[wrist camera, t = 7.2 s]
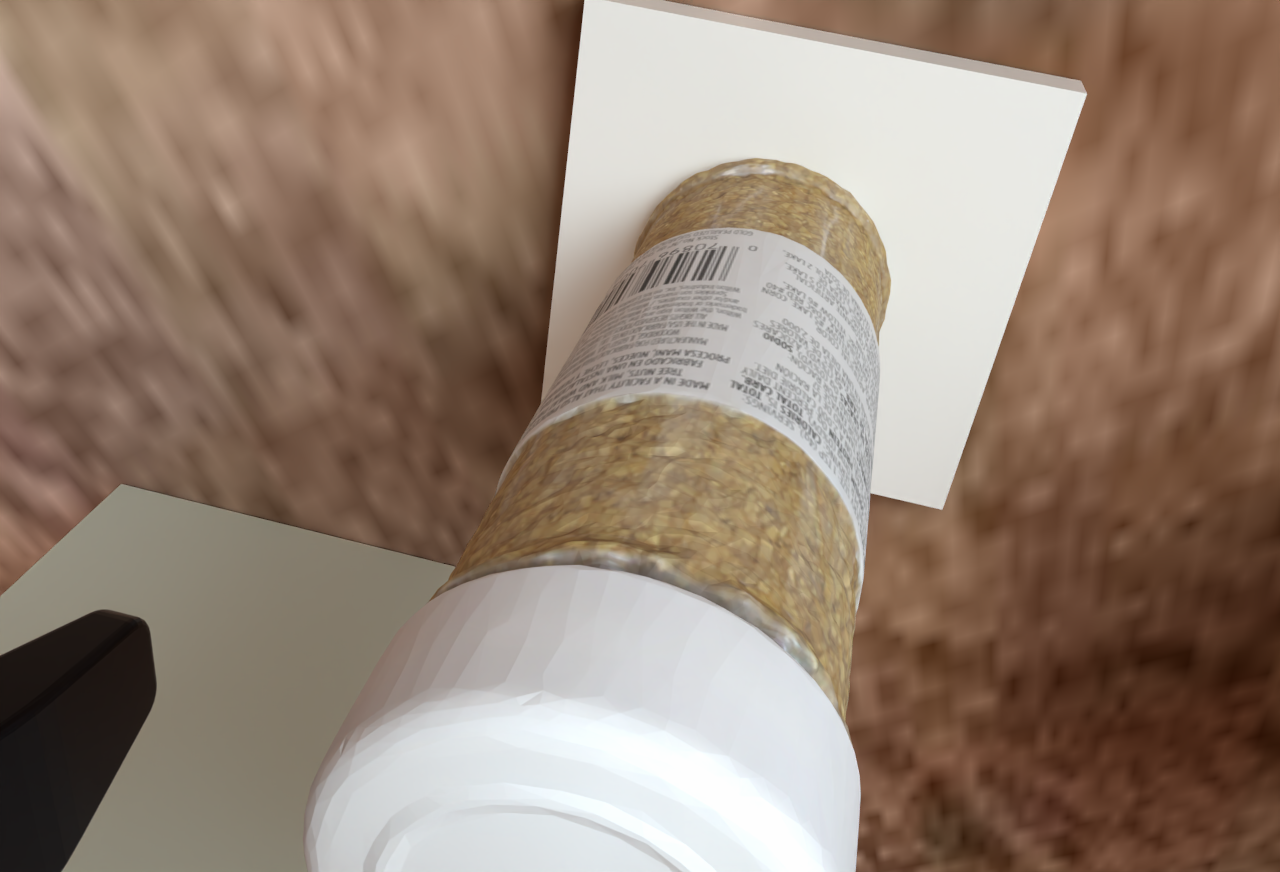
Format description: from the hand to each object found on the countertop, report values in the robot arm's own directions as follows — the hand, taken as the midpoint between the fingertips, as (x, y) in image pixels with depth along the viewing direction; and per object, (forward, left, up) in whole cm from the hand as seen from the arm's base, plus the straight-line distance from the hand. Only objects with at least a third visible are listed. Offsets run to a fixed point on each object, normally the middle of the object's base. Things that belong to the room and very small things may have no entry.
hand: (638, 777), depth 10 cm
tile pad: (0, 0, -13) cm, 13 cm away
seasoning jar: (0, 0, -12) cm, 12 cm away
